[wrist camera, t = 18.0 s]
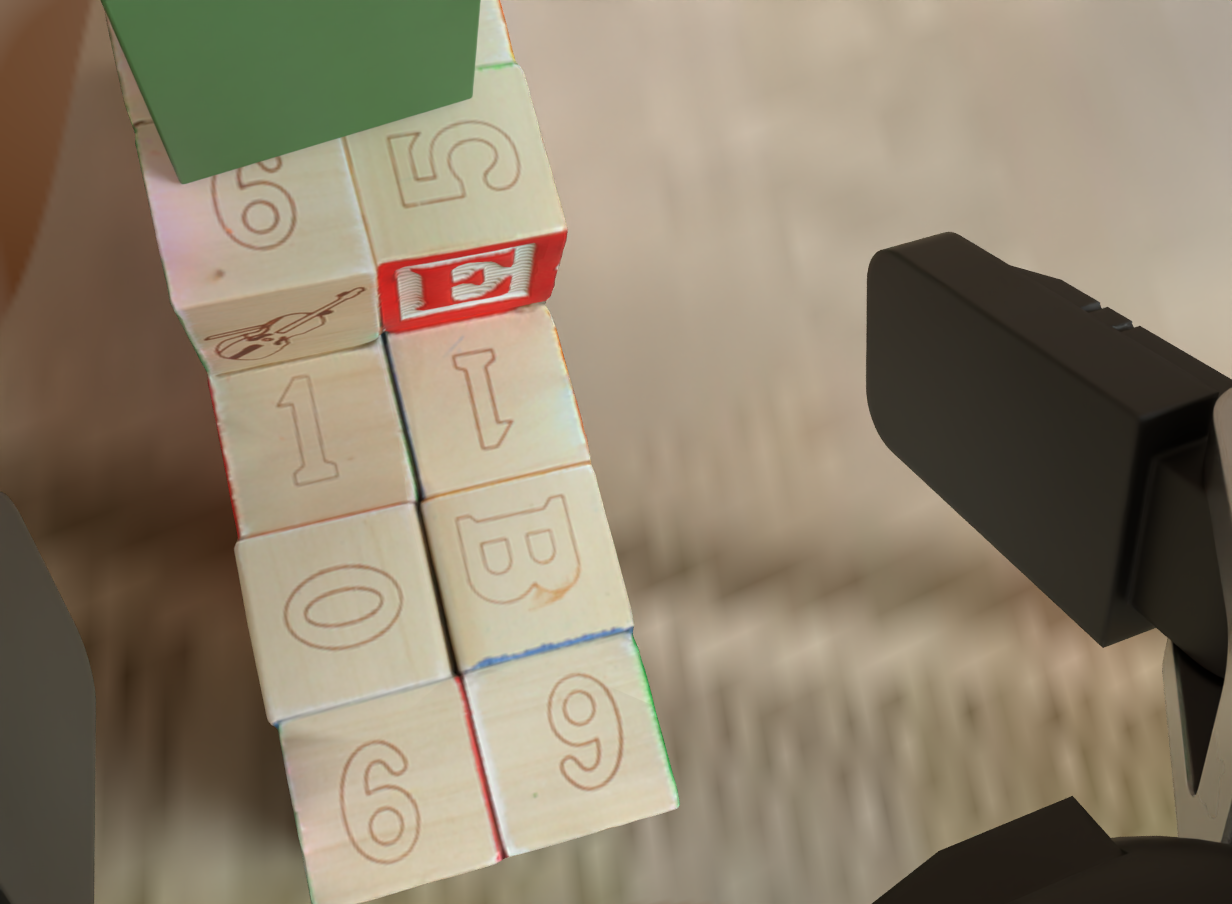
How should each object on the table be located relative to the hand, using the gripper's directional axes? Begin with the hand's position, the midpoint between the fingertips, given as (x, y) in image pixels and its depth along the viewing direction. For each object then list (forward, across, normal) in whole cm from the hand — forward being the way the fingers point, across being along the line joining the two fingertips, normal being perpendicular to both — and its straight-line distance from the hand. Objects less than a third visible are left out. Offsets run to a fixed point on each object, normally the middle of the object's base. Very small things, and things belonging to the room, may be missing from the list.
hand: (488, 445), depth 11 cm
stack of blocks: (+17, 0, +9) cm, 20 cm away
